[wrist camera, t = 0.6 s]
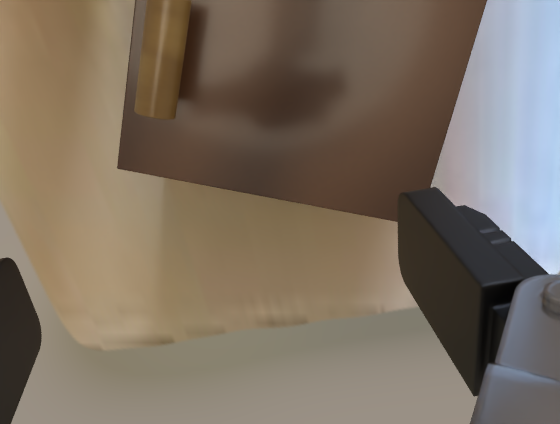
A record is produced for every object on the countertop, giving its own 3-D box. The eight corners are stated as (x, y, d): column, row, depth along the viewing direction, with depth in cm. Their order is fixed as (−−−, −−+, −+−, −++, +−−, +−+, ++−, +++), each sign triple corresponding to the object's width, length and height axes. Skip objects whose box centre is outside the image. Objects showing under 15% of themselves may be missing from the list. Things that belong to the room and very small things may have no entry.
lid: (120, 165, 29) (90, 191, 24) (149, -96, 25) (120, -126, 20) (414, 221, 30) (441, 257, 25) (487, -19, 26) (535, -30, 21)
